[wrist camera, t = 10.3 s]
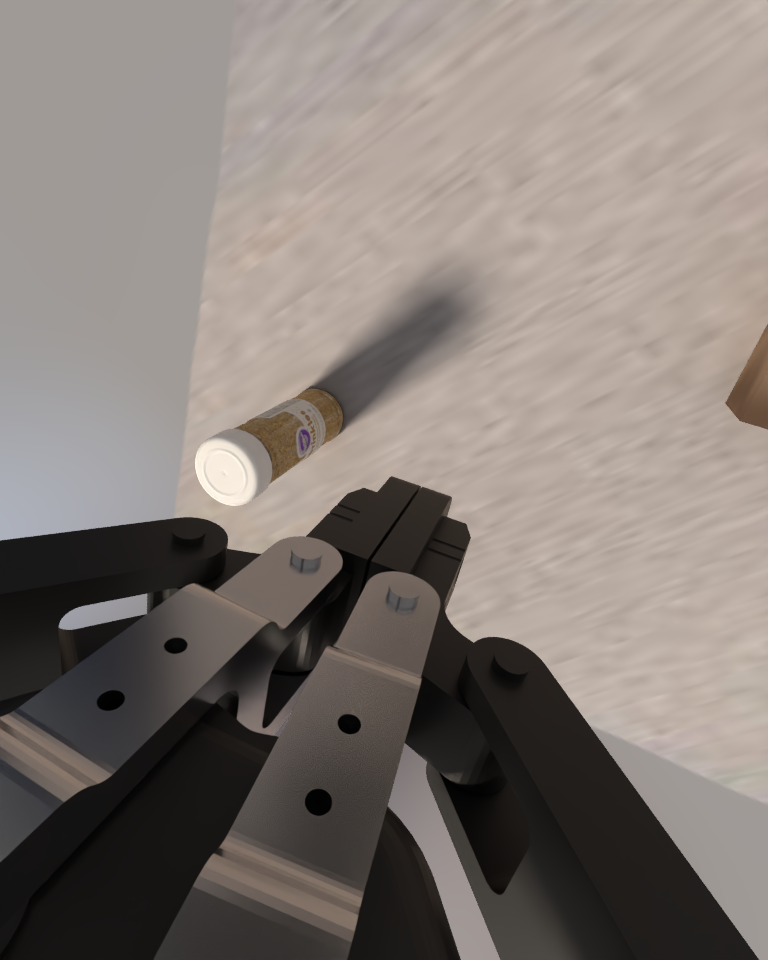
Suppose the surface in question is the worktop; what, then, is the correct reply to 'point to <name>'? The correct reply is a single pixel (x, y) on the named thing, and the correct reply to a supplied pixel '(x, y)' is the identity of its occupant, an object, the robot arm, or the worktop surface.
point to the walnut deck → (753, 387)
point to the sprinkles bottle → (266, 446)
